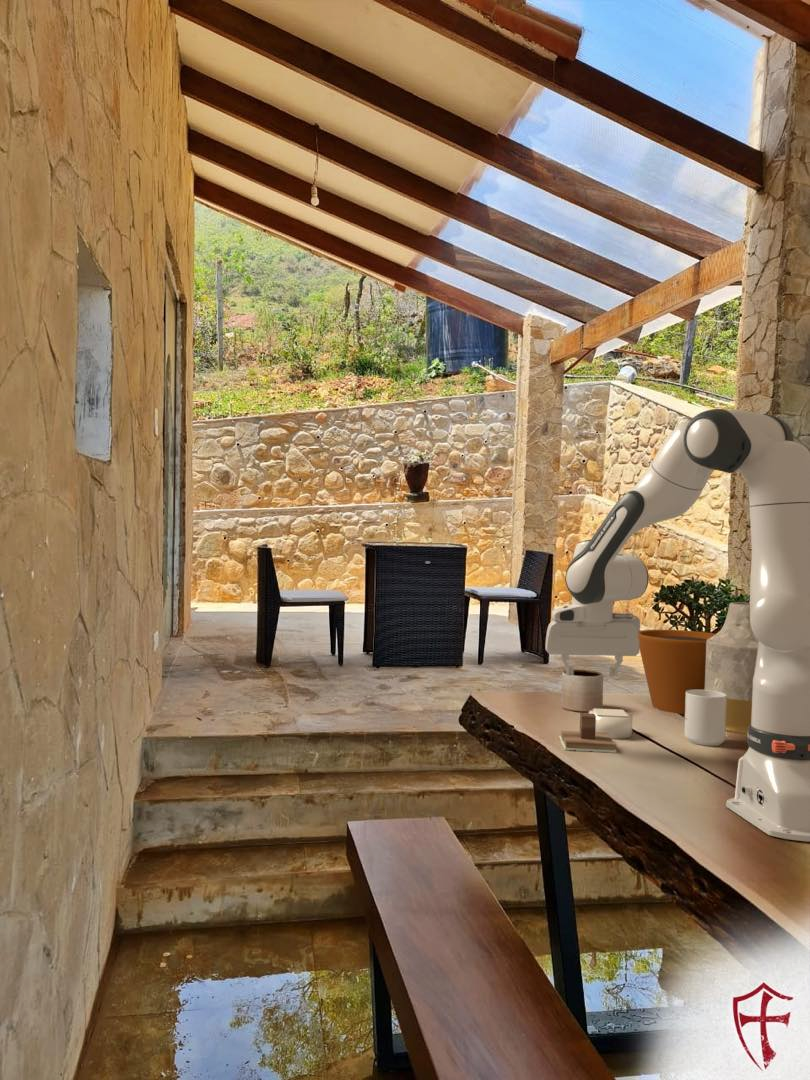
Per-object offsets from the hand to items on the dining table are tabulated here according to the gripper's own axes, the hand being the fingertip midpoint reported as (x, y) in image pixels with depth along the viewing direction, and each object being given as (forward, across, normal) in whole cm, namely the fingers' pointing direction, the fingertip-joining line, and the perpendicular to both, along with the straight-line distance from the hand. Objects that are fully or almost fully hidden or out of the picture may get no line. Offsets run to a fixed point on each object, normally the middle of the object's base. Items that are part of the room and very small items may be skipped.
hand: (591, 675), depth 188 cm
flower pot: (+16, -30, -46) cm, 57 cm away
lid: (+15, +1, 0) cm, 15 cm away
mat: (+15, +1, 0) cm, 15 cm away
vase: (+16, -41, -28) cm, 52 cm away
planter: (+15, -3, -39) cm, 42 cm away
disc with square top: (+15, -6, -12) cm, 21 cm away
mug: (+16, -27, -10) cm, 33 cm away
